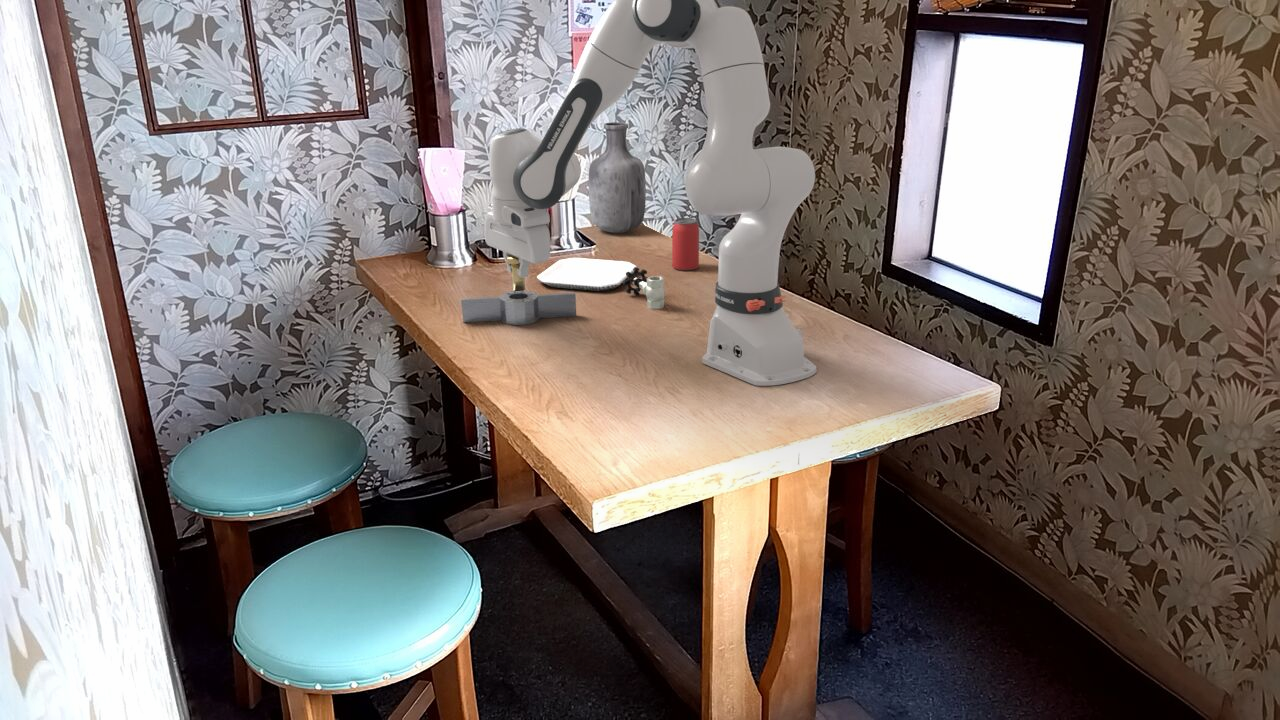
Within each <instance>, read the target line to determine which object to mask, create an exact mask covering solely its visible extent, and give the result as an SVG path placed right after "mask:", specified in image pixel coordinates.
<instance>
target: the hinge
mask: <svg viewBox="0 0 1280 720" xmlns="http://www.w3.org/2000/svg"><path fill="white" fill-rule="evenodd" d="M576 298H577V297H576V292H562V293H543V294H542V293H541V294H538V293H536V292H534V291H533V290H526V289H525V290H523V291H514V290H511V291H507V292H504V293H502V294H500V295H499V296H487V297H486V296H484V297H482V296H481V297H470V298H469V297H466V298H465V297H464V298H461V299H460V300H461V302H460V303H461V312H462V323H477V322H479V323H480V322H495V321H496V322H497V321H501V322H502V323H504V324H506V325H512V326H524V325H526V326H527V325H529V324H533V323H535V322H537V321H538V320H540V319H547V318H549V319H550V318H568V317H569V318H570V317H577V301H576V300H577V299H576Z"/></svg>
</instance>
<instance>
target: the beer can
mask: <svg viewBox="0 0 1280 720" xmlns="http://www.w3.org/2000/svg"><path fill="white" fill-rule="evenodd" d="M671 232H672V233H671V235H672V236H671V237H672V238H671V239H672V243H671V244H672V245H671V246H672V247H671V251H672V255H671V258H672V259H671V262H672V263H671V265H672V267H673V269H675V270H677V271H684V272H688V271H694V270H697V268H698V267H699V263H700V262H699V261H700V260H699V259H700V253H699V252H700V226H699V224H698V220H697V218H696V219H695V218H690V217H681V218H676V219H674V224H673V226H672V231H671Z"/></svg>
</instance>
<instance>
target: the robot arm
mask: <svg viewBox="0 0 1280 720" xmlns="http://www.w3.org/2000/svg"><path fill="white" fill-rule="evenodd" d="M662 43H663V44H666V45H668V46H670V47H673V48H678V49H684V50H690V51H695V52H696V54H697V56H698V59H699V64H700V70H701V71H700V72H701V78H702V83H703V92H704V96H705V105H706V115H707V127H706V128H707V129H706V136H705V140H704V144H703V147H702V149H701V151H700V153H699V155H698V156H697V158H696V159H695V160H694V162H693V163H692V164H691V165H690V167H689V169H688V171H687V173H686V175H685V176H686V177H685V181H684V183H685V184H684V186H685V187H684V188H685V194H686V197H687V200H688V202H689V205H690V206H692V208H693V209H694V210H695V211H696V212H697V213H698V214H701V215H707V216H714V217H728V216H735V215H740V217H739V218H738V220H737V222H736V224H735V225H734V226H733V228H732V229H731V230H730V231H728V233H726V234H725V235H724V236H723V237H722V240H721V241H720V243H719V246H718V263H717V265H718V266H717V267H718V268H717V269H718V270H717V271H718V273H717V276H718V277H717V282H716V283H715V289H714V302H715V304H716V308H715V310H714V312H713V315H712V317H711V318H710V322H709V323H710V324H709V329H708V340H707V348H706V349H707V350H706V353H705V354H704V355H703V356H702V358H701V362H702V364H704V365H707V366H709V367H710V368H713V369H716V370H717V371H720V372H723V373H725V374H728V375H730V376H732V377H735V378H737V379H739V380H741V381H744V382H747V383H749V384H751V385H753V386H757V387H758V386H759V387H763V386H765V387H768V386H769V387H770V386H780V385H784V384H790V383H794V382H797V381H801V380H805V379H807V378H810V377H812V376H814V375H815V374H816V373H817V372H818V369H817V365H815V364H814V363H813V362H812V361H810V360H809V359H808V358H807V357H806V356H805V344H804V339H803V333H802V330H801V329H800V328H798V327H797V328H796V327H795V325H794V323H793V322H792V321H791V319H790V318H789V317H788V315H787V313H786V312H785V309H784V308H783V306H784V302H786V300H783V299H785V298H786V297H787V296H786V295H782V291H781V288H780V284H779V283H778V279H779V265H780V264H779V263H780V262H779V261H780V253H781V248H782V247H781V246H782V241H783V238H784V235H785V232H786V229H787V227H788V225H789V223H790V220H791V218H792V217H793V215H794V213H795V212H796V211H797V209H798V207H799V206H800V205H801V203H802V202H804V200H806V198H807V197H809V196H810V194H811V193H812V191H813V188H814V186H815V182H816V181H815V180H816V172H815V170H816V169H815V167H814V166H815V165H814V163H813V161H812V159H811V157H810V156H809V155H808V153H806V152H805V151H804V150H802V149H800V148H794V147H788V146H780V145H779V146H770V147H762V148H755V149H754V145H753V139H754V133H755V131H756V128H757V127H758V126H759V125H760V124H761V123H762V122H763V121H764V120H765V119H766V118H767V116H768V114H769V112H770V109H771V101H770V94H769V87H768V82H767V76H766V70H765V63H764V58H763V53H762V50H761V45H760V42H759V38H758V35H757V32H756V29H755V25H754V22H753V21H752V18H751V15H750V14H749V12H747V11H746V10H744V9H743V8H741V7H737V6H730V5H729V6H722V5H721V3H720V2H719V1H718V0H613V1H612V2H611V3H610V5H609V6H608V7H607V8H606V10H605V11H604V13H603V14H602V16H601V17H600V19H599V20H598V22H597V23H596V25H595V27H594V28H593V30H592V33H591V34H590V35H589V38H588V40H587V42H586V44H585V46H584V47H583V50H582V52H581V53H582V54H581V56H580V57H579V60H578V62H577V65H576V67H575V71H574V74H573V76H572V79H571V81H570V84H569V86H568V89H567V91H566V94H565V96H564V99H563V101H562V103H561V105H560V107H559V109H558V111H557V113H556V114H555V116H554V118H553V120H552V122H551V123H550V125H549V127H548V129H547V131H546V133H545V135H544V136H543V138H542V139H541V138H540V137H538V136H535V135H534V134H533V133H532V132H531V131H530V130H528V129H526V128H521V127H520V128H517V127H516V128H511V129H507V130H504V131H501V132H500V131H499V133H497V134H495V135H494V136H493V137H492V138H491V139H490V144H489V159H488V160H489V176H490V179H491V184H492V189H491V194H490V196H491V203H490V204H489V205H488V207H487V213H486V214H485V216H484V240H485V243H486V245H487V246H489V247H491V248H494V249H496V250H498V251H501V252H502V256H503V258H504V261H505V264H506V269H507V272H508V273H510V274H512V268H511V265H510V264H508V263H507V256H508V255H510V254H511V255H513V256H516V257H518V258H519V262H520V267H519V268H518V269H517V272H518V273H517V275H518V276H519V277H521V278H527V277H528V276H529V268H530V266H531V264H533V265H538V264H543V263H547V262H548V261H549V259H550V257H551V234H550V233H551V232H550V230H549V227H548V226H547V224H549V223H550V222H551V221H550V219H551V218H550V213H549V212H548V211H547V209H549V208H552V207H553V206H555V205H556V204H558V202H559V201H560V200H561V199H562V197H563V196H565V195H566V194H567V193H569V191H571V189H573V188H574V187H575V186H576V185H577V184H578V181H579V180H580V177H581V172H582V171H581V169H582V168H581V163H580V161H579V158H578V157H577V155H576V154H575V152H576V150H577V148H578V147H579V145H580V144H581V142H582V139H583V137H584V136H585V134H586V132H587V131H588V129H589V128H590V126H591V125H592V124H593V123H594V121H595V120H596V119H597V118H598V117H599V116H600V115H601V114H603V113H604V112H605V111H606V110H607V109H608V108H610V107H611V106H612V105H613V104H615V103H616V102H618V101H619V100H620V99H621V98H622V97H623V95H624V94H625V93H626V91H627V90H628V89H629V88H630V86H631V85H632V84H633V82H634V80H635V78H636V77H637V75H638V74H639V72H640V70H641V68H642V66H643V64H644V62H645V60H646V58H647V57H648V55H649V53H650V52H651V50H652V49H653V48H654V47H655V46H656V45H659V44H662Z"/></svg>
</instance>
